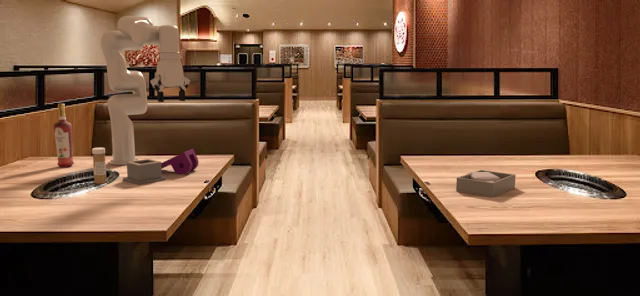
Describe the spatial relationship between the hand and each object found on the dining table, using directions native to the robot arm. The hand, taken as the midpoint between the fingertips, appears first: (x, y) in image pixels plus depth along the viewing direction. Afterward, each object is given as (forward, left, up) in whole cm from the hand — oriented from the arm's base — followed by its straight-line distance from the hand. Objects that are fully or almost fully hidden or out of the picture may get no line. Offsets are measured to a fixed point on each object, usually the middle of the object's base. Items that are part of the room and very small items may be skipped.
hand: (171, 101), depth 205 cm
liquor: (-55, -20, -31) cm, 67 cm away
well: (-3, -11, -31) cm, 33 cm away
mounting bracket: (-9, +6, -31) cm, 33 cm away
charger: (+104, +64, -30) cm, 125 cm away
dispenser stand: (+104, +64, -31) cm, 125 cm away
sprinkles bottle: (-11, -25, -31) cm, 42 cm away
